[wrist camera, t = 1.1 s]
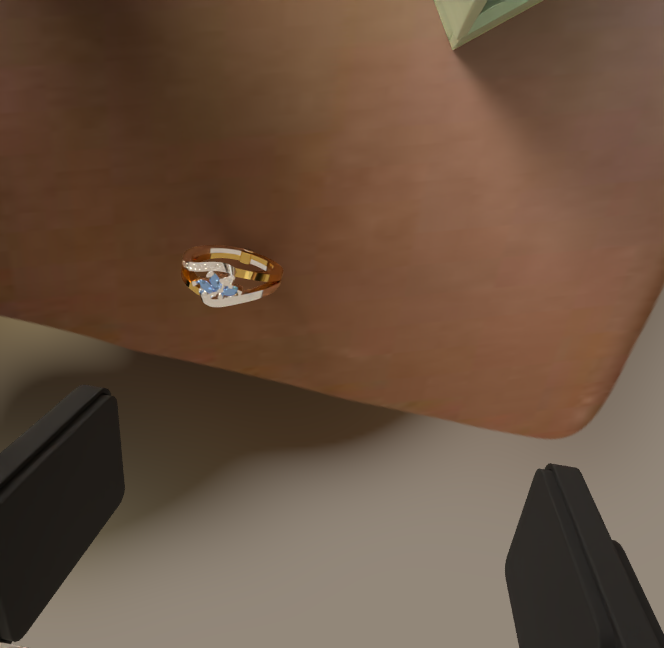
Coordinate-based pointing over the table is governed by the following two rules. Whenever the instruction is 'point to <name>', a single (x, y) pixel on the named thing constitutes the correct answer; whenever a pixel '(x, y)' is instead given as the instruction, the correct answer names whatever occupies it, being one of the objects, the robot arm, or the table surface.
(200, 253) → the ring
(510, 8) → the chest
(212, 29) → the table surface
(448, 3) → the chest lid
